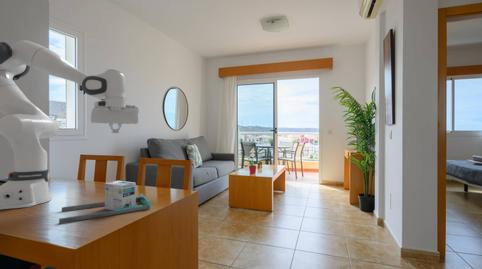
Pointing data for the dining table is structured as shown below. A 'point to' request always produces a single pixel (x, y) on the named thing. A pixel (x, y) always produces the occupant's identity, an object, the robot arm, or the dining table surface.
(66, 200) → the dining table surface
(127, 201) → the light bulb box
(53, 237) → the dining table surface
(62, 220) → the rail frame
